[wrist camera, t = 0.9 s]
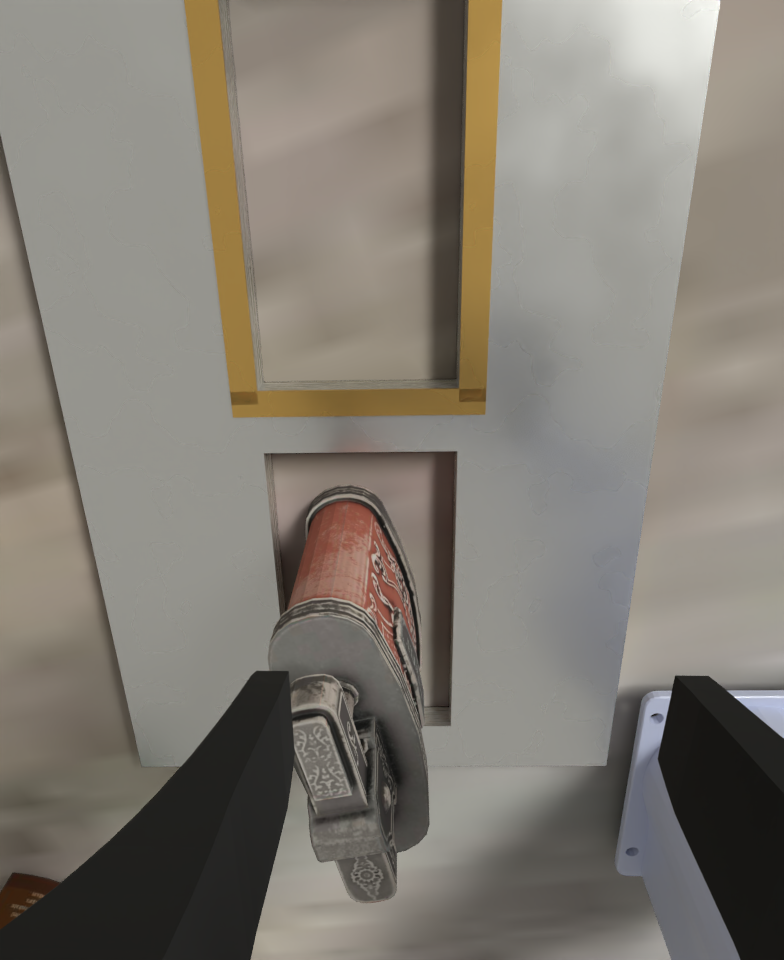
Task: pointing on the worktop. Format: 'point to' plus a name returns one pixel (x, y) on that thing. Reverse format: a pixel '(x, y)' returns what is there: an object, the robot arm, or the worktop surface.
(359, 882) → the lighter
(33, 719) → the worktop surface
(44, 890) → the food container
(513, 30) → the rail plate
